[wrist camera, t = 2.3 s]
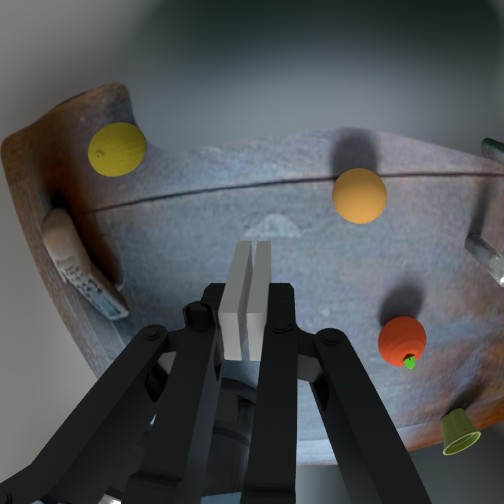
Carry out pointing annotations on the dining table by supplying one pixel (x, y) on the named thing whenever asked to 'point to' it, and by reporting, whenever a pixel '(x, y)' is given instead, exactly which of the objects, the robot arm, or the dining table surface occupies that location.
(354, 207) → the ball
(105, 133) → the lemon
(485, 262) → the post
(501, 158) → the post
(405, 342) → the clementine
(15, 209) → the dining table surface
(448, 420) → the plant pot
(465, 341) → the dining table surface
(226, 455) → the robot arm
